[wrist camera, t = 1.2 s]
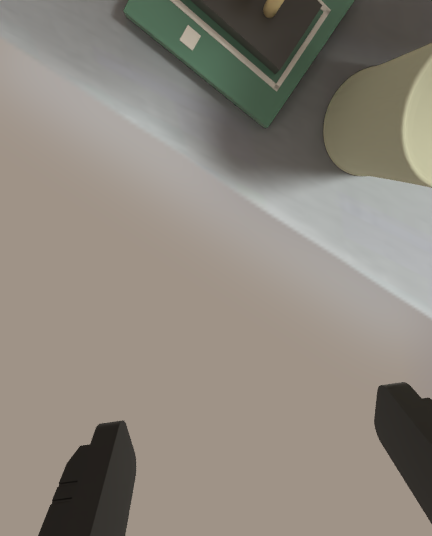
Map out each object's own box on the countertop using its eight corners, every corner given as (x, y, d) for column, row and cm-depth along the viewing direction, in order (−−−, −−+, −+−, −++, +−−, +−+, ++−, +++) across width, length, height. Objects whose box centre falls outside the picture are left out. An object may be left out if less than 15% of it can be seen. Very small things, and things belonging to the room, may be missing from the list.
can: (404, 178, 31) (523, 198, 20) (314, 173, 30) (386, 190, 19) (433, 71, 27) (598, 21, 16) (333, 61, 27) (435, 1, 15)
